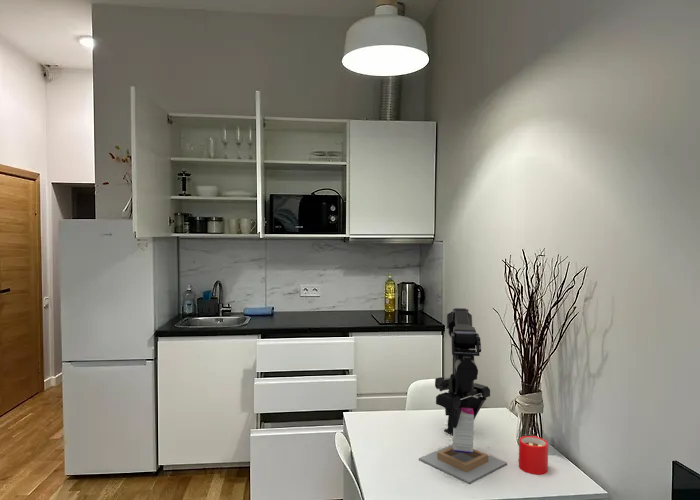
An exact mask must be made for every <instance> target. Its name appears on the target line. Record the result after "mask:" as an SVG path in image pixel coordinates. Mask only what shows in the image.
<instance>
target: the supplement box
mask: <svg viewBox="0 0 700 500" xmlns="http://www.w3.org/2000/svg"><path fill="white" fill-rule="evenodd" d="M474 422H475V419H474V411H473V408H463V407H462V410H461V414H460V418H459V421H458V425H457V428H453V434H452V444H453V452H460V453H471V454H472V453H473V449H474V431H475V429H474V427H475V423H474Z"/></svg>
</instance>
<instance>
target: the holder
mask: <svg viewBox="0 0 700 500" xmlns="http://www.w3.org/2000/svg"><path fill="white" fill-rule="evenodd" d="M418 461H419V462H422V463H424V464H426V465H428V466H431V467H432V468H435V470H436V469H437V470H439V471H441V472H443V473H444V474H447V475H449V476H451V477H453V478H456V479H458V480H460V481H462V482H464V483H466V484H467V485H471V484H473V483H474V482H477V481H478V480H481V479H482V478H484V477H486V476H487V475H490V474H491V473H493V472H495V471H498V470H500V469H501V468H504V467H505V466H507V465H508V463H507V462H506V461H504V460H502V459H499V458H496V457H494V456H493V455H489V454H487V453H485V452H482V451H479V450H477V449H475V448H473V453H472V454H471V453H460V452H453V443H452V444H450V445H447V446H445V447H442V448H440V449H438V450H435V451H433V452H430V453H429V454H426V455H423V456H421V457H419V458H418Z"/></svg>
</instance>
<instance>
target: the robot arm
mask: <svg viewBox="0 0 700 500" xmlns="http://www.w3.org/2000/svg"><path fill="white" fill-rule="evenodd" d="M445 325H446V326H445V327H446V328H445V329H447V333H448V335H449V337H450V339H451V340H450V341H451V342H450V343H451V344H450V345H451V355H452V372H451V374H450V376H449V377H447V378H444V377H443V376H441V377H437V378H435V379H434V386H435V389H436V390H439V392H443V391H447V390H448V391H447V392H443V393H440V394H439V393H438V394H437V396H435V404H436V406H437V405H438V406H440V407H443V408H444V413H445V416H447V417H448V418H447V428H446V429H444V431H443V432H446V433H448V434H450V435H453V428H457V425H458V421H459V418H460V414H461V410H462V407H463V408H473V411H474V420H475V419H476V417H477V416H478V414H479V412H480V410H481V408H482V406H483V404H484V403H485V401H487V398H489V397H491V389H490V387H489V386H486V385H483V384H481V383H477V382H475V381H476V380H478V374H479V370H478V367H477V364H476V361H475V357H480V356H481V355H480V353H482V343H481V337H480V334H479V333H477V330H476V327H474V326H473V315H472V314H471V313H469V309H467V308H465V307H464V308H460V307H454V308H452V311H451V312H449V313H447V314H446V320H445Z"/></svg>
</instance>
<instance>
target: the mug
mask: <svg viewBox="0 0 700 500" xmlns="http://www.w3.org/2000/svg"><path fill="white" fill-rule="evenodd" d="M548 465H549V442H548V441H547V440H546V439H544V438H542V437H539V436H538V435H523V436H521V437H519V440H518V468H519V469H520V470H521V472H524V473H526V474H530V475H533V476H534V475H538V476H540V475H546V474H547V473H548V471H549V466H548Z"/></svg>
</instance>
